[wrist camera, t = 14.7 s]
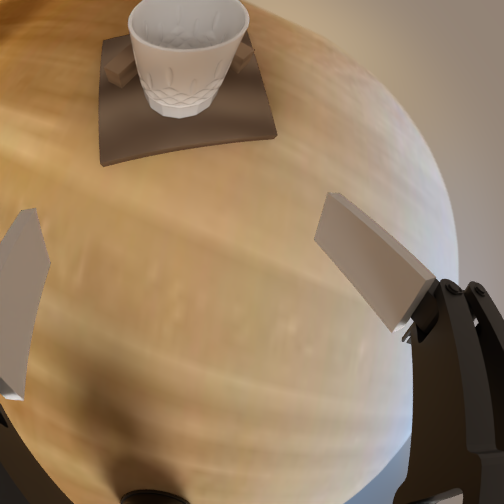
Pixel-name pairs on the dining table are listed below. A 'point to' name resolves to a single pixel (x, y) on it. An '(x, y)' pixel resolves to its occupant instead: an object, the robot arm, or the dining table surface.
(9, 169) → the dining table surface
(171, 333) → the dining table surface
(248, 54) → the brown flat square slab
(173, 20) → the white cup
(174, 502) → the french press
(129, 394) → the dining table surface
